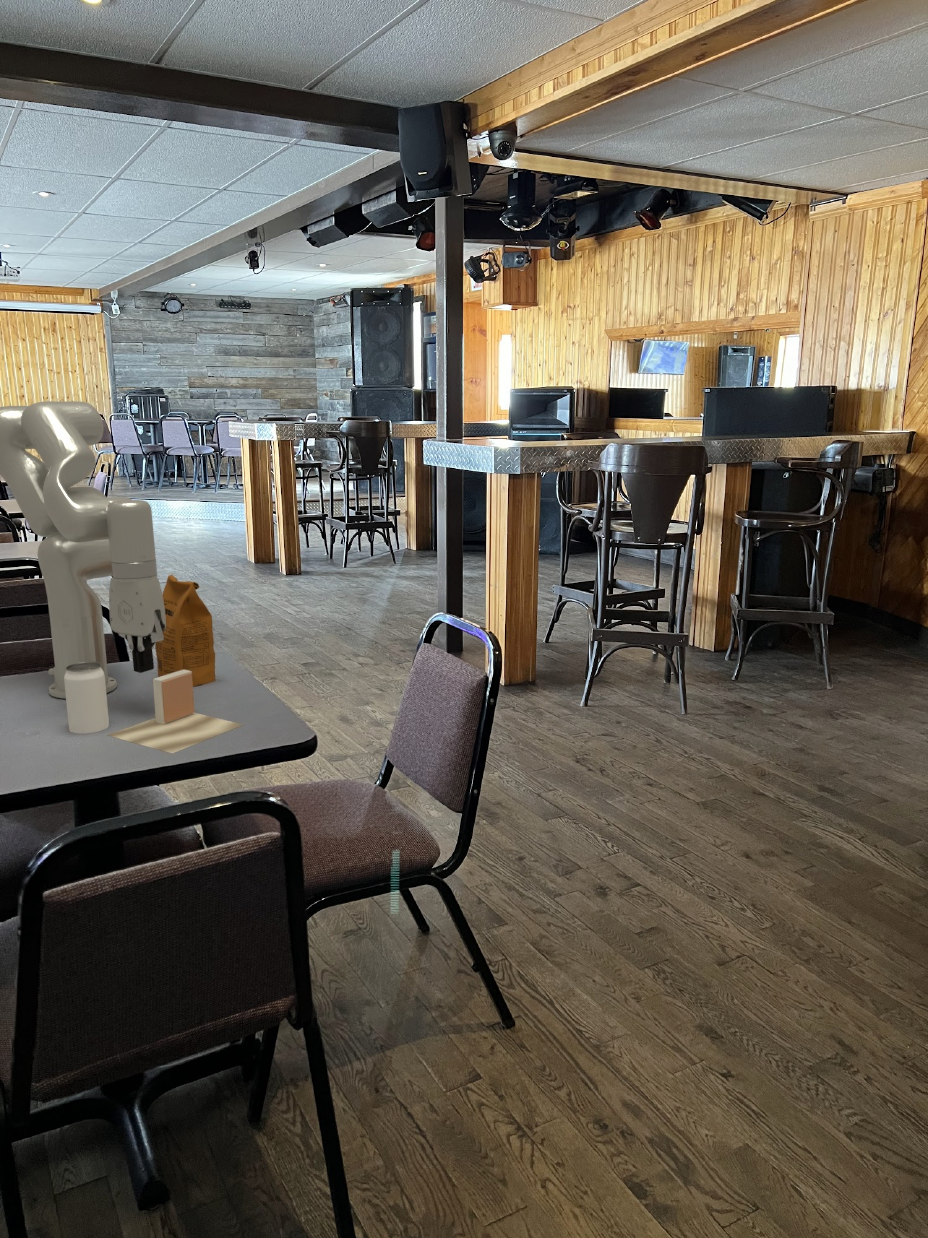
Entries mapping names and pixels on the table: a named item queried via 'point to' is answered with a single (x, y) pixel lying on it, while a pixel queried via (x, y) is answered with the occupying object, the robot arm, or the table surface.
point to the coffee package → (186, 634)
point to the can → (86, 698)
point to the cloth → (175, 732)
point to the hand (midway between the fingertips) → (144, 670)
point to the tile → (173, 696)
